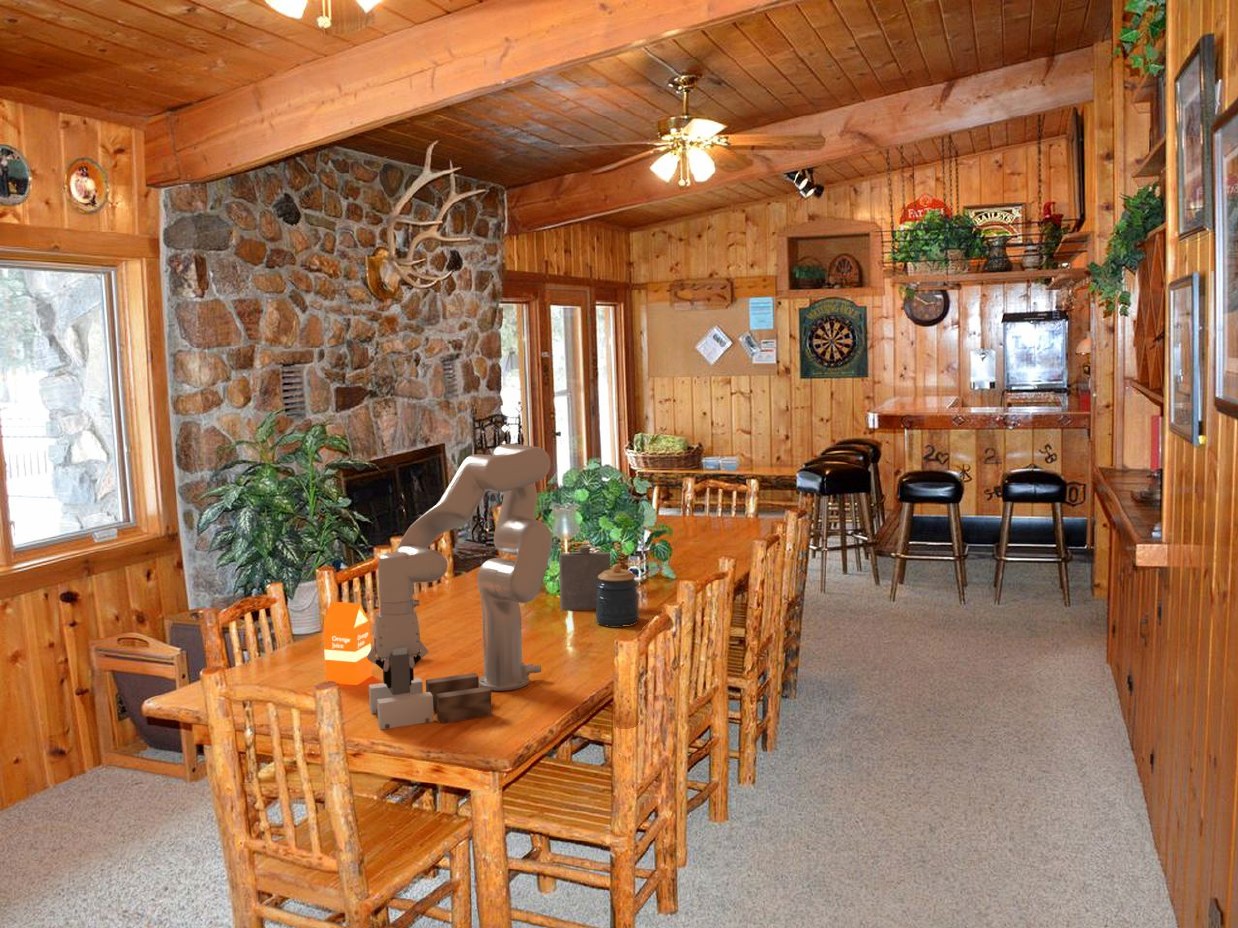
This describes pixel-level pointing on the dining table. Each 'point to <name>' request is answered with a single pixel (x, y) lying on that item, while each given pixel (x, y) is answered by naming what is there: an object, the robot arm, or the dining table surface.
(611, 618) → the canister
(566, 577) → the hip flask
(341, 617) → the orange juice
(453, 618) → the dining table surface
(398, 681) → the plug
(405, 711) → the dock
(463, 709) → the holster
